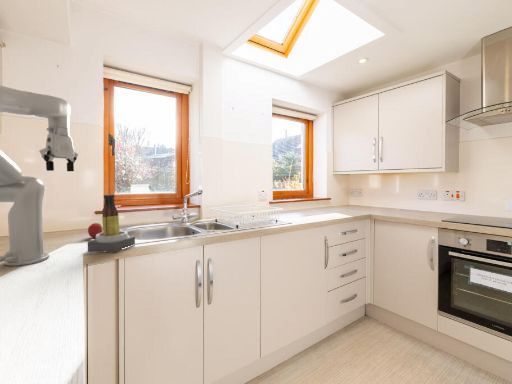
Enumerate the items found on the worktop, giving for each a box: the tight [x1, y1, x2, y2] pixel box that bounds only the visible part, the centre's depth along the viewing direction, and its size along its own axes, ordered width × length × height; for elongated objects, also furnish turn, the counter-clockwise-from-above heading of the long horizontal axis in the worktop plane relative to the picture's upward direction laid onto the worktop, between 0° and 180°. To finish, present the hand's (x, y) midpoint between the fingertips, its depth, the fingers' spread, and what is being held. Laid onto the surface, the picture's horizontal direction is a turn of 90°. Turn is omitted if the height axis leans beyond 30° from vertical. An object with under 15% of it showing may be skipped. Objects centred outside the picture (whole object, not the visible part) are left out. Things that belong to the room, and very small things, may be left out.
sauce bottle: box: [101, 194, 121, 236], centre depth 114 cm, size 7×6×20 cm
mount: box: [87, 230, 136, 254], centre depth 115 cm, size 13×13×6 cm
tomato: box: [87, 222, 103, 239], centre depth 136 cm, size 8×8×8 cm
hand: (60, 170), depth 116 cm, fingers open, 9 cm apart
